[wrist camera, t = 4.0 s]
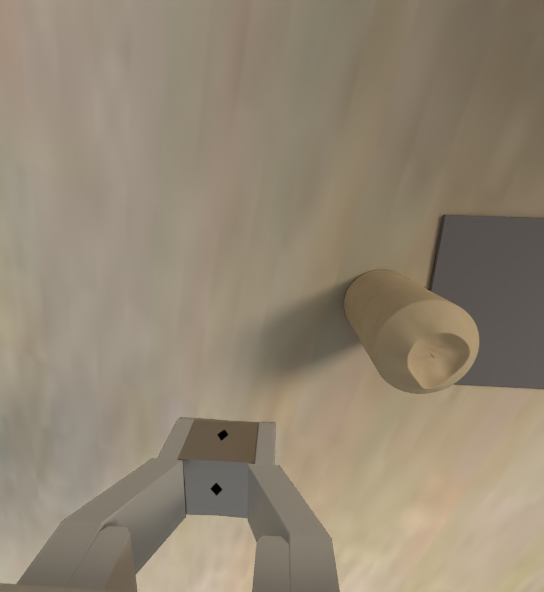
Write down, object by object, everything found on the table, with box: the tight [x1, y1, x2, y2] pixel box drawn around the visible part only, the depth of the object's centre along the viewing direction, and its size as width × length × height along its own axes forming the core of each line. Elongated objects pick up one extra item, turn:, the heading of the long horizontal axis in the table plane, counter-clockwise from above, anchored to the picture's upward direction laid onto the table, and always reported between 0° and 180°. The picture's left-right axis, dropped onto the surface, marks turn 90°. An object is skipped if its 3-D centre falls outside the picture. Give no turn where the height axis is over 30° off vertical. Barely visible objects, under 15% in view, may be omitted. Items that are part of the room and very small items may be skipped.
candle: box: [344, 270, 479, 394], centre depth 19 cm, size 6×6×10 cm
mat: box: [429, 215, 544, 389], centre depth 23 cm, size 17×14×1 cm
